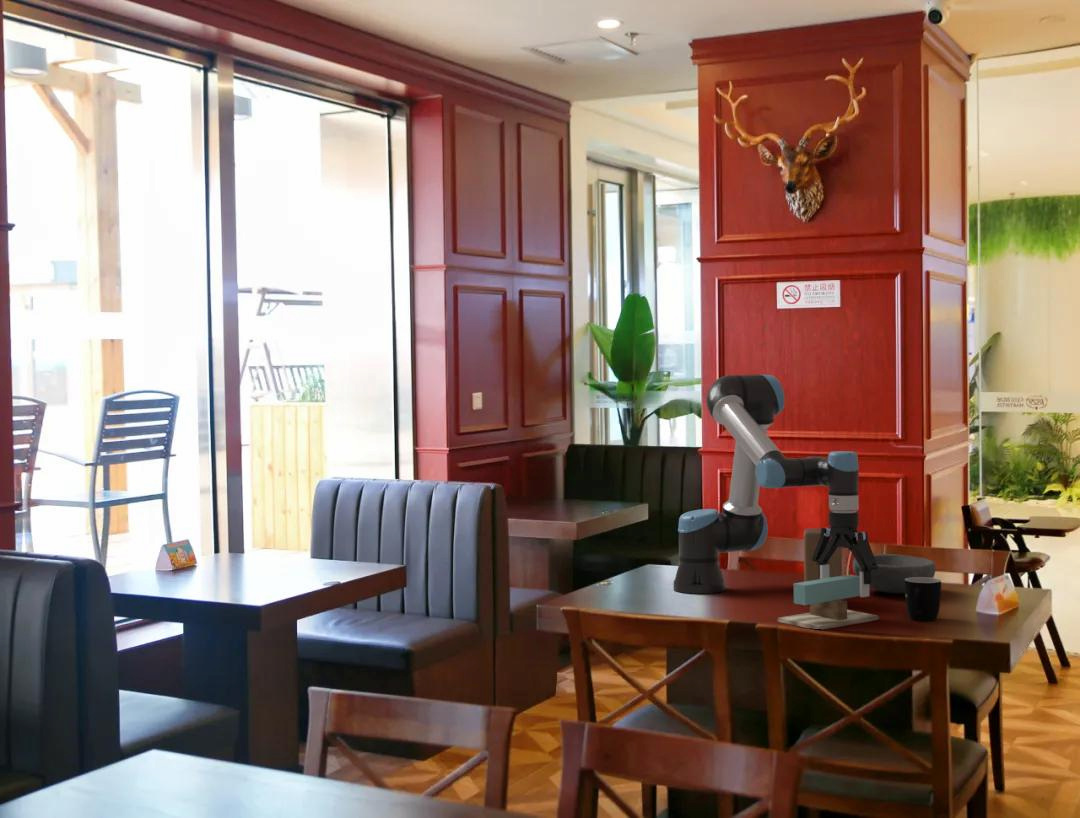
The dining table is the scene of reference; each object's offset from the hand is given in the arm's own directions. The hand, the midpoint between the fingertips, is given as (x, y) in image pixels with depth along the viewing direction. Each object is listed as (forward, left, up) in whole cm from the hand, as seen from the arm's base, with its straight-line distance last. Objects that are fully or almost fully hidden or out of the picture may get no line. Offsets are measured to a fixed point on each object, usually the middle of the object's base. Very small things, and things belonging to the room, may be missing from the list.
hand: (844, 593), depth 326 cm
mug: (+14, +13, -7) cm, 20 cm away
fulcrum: (0, -6, -6) cm, 9 cm away
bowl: (-17, +39, -7) cm, 43 cm away
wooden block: (-19, +12, -7) cm, 23 cm away
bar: (0, -6, -1) cm, 6 cm away
